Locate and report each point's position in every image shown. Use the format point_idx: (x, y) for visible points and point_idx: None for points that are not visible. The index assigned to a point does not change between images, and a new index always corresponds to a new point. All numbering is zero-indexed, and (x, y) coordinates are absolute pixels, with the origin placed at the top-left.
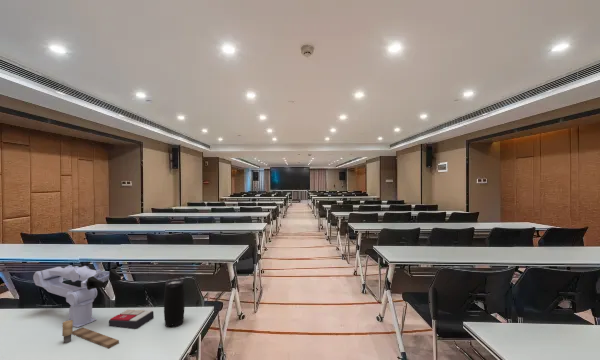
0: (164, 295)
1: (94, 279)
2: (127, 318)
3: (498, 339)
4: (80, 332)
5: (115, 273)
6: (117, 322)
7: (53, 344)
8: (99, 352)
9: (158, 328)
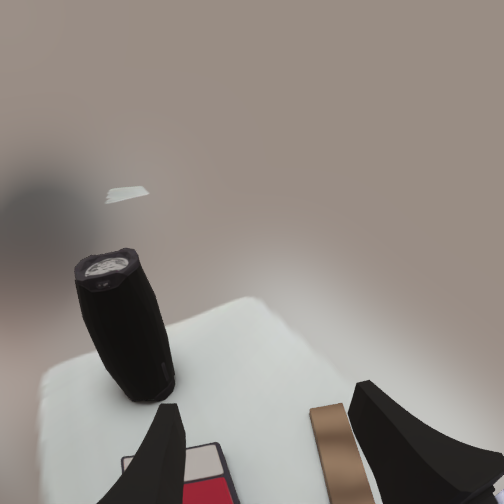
0: (146, 308)
1: (440, 446)
2: (218, 490)
3: (130, 196)
4: None
5: (151, 469)
6: None
7: None
8: None
9: (189, 400)
